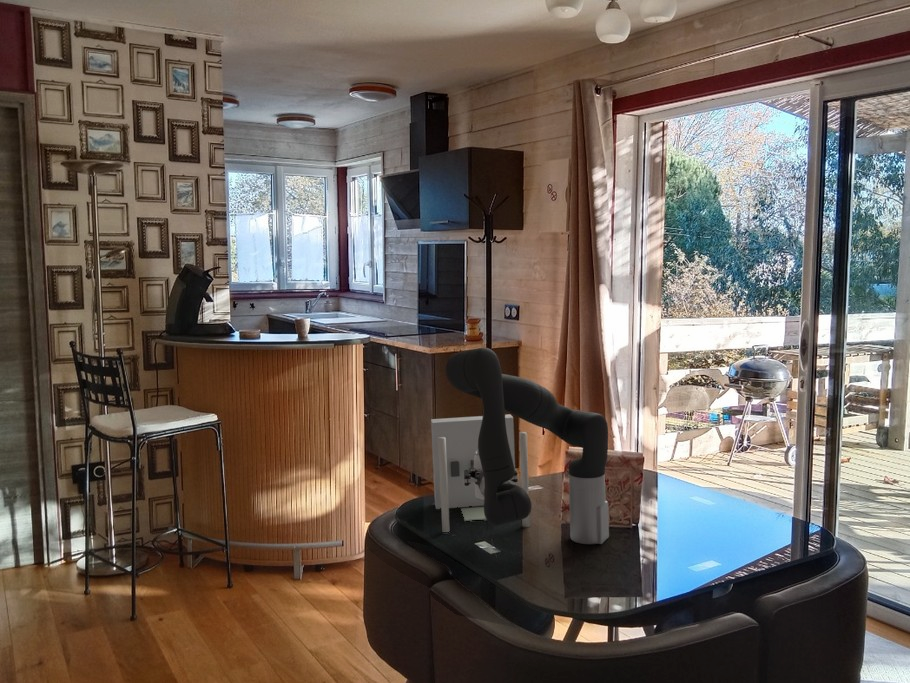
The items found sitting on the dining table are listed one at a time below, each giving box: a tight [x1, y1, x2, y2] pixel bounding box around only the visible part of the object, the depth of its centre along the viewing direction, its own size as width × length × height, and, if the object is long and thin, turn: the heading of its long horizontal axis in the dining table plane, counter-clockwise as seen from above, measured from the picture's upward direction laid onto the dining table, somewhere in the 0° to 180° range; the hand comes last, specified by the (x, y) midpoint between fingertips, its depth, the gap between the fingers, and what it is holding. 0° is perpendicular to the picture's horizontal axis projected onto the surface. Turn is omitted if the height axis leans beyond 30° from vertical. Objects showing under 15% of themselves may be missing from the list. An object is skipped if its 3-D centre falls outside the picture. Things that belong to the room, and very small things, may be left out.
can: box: [474, 451, 484, 500], centre depth 206 cm, size 6×6×12 cm
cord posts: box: [438, 431, 531, 533], centre depth 212 cm, size 2×24×26 cm, turn 96°
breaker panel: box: [430, 413, 517, 510], centre depth 233 cm, size 7×24×26 cm, turn 96°
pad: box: [460, 506, 487, 522], centre depth 225 cm, size 10×10×1 cm
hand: (485, 468), depth 208 cm, fingers closed on can, 6 cm apart
